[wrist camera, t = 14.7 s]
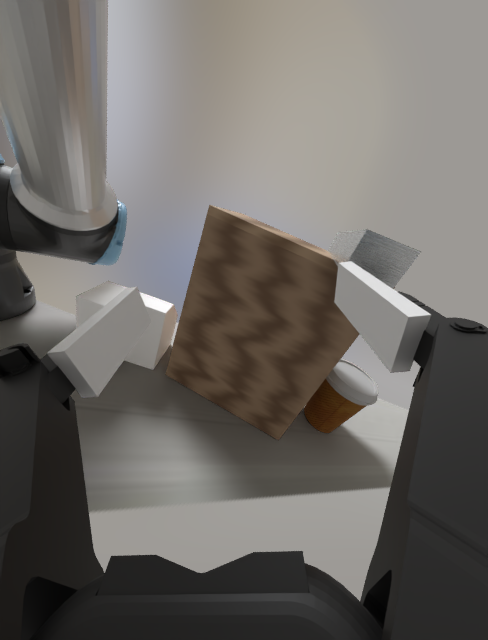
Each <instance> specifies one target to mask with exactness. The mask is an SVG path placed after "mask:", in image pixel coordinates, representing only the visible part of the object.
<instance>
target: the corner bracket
mask: <svg viewBox="0 0 488 640" xmlns="http://www.w3.org/2000/svg"><path fill="white" fill-rule="evenodd" d="M126 288H127V287H124V286H121V285H118V284H116V283H113V282H110V281H108V282H105V283H103V284H101V285H99V286H97V287H95V288H93V289H90V290H88V291H86V292H84V293H82V294H80V295H78V296H76V310H77V311H76V321H77V328H78V327H79V326H80V325H82V324H83V323H84V322H85V321H87V320H88V319H89V318H90V317H91V316H93V315H94V314H95V313H96V312H98V311H99V310H100V309H101V308H103V307H104V306H105V305H106V304H107V303H109V302H110V301H111V300H112V299H114V298H115V297H116V296H117V295H118V294H120V293H121V292H122V291H123V290H125V289H126ZM140 295H141V297H142V300H143V302H144V304H145V307H146V309H147V312H148V314H149V316H150V319H151V321H152V322H151V323H150V325H149V326H148V327H147V329H146V330H145V332H144V333H143V334H142V336H141V337H140V339H139V340H138V341H137V343H136V344H135V346H134V347H133V348H132V350H131V351H130V353H129V354H128V355H127V357H126V358H125V360H124V361H127V362H130V363H133V364H137V365H140V366H143V367H146V368H149V369H152V370H154V368H155V367H156V365H157V364H158V362H159V361H160V359H161V358H162V356H163V355H164V353H165V352H166V350H167V349H168V347H169V346H170V344H171V340H172V336H173V332H174V328H175V324H176V320H177V316H178V315H177V312H176V309H175V306H174V304H171V303H168V302H166V301H163V300H160V299H157V298H154V297H152V296H149V295H146V294H144V293H141V292H140Z"/></svg>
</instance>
